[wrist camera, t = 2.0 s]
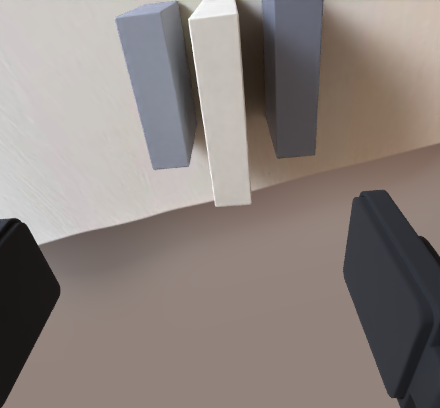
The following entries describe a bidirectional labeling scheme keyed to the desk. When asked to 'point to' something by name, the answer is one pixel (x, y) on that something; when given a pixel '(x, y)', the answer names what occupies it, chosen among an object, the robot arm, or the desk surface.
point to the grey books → (181, 85)
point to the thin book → (222, 98)
